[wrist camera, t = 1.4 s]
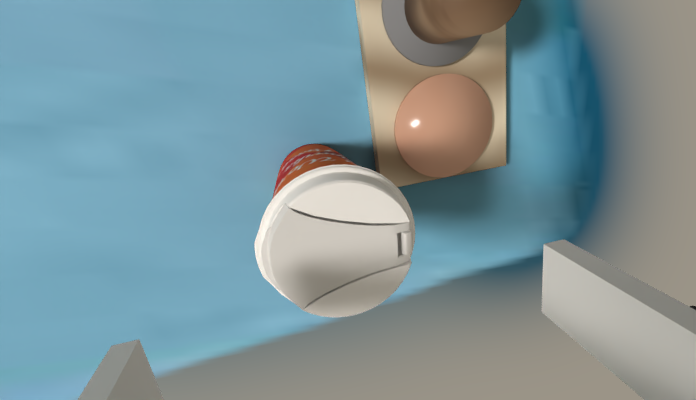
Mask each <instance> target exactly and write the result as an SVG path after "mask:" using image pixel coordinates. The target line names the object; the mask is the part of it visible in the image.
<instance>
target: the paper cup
mask: <svg viewBox="0 0 696 400" xmlns="http://www.w3.org/2000/svg"><path fill="white" fill-rule="evenodd" d="M414 242H415V225H414V218H413V215H412V211H411V208H410V206H409V204H408V202H407V200H406V198H405V197H404V195H403V194H402V192H401V191H400V190H399V189H398V188H397V187H396V186H395V185H394V184H393V183H392V182H391V181H390V180H388V179H387V178H386V177H384V176H383V175H381V174H379V173H377V172H375V171H373V170H371V169H368V168H364V167H361V166H358V165H356V164H355V163H353V162H352V161H350V160H349V159H347V158H346V157H345V156H343V155H342V154H340V153H339V152H337V151H335V150H334V149H332V148H330V147H327V146H324V145H320V144H308V145H304V146H301V147H299V148H297V149H295V150H293V151H292V152H291V153H290V154H289V155H288V156H287V157H286V158H285V160H284V161H283V163H282V165H281V167H280V170H279V173H278V177H277V181H276V186H275V190H274V195H273V199H272V201H271V202H270V204H269V205H268V207H267V209H266V211H265V213H264V215H263V217H262V220H261V224H260V228H259V231H258V234H257V237H256V240H255V255H256V259H257V263H258V266H259V269H260V271H261V273H262V275H263V277H264V278H265V279H266V280H267V281H268V282H269V283H271V284H272V285H273V286H274V287H275V288H276V289H277V290H278V291H279V292H280V293H281V294H282V295H283V296H285V297H286V298H287V299H289V300H290V301H292V302H293V303H295V304H296V305H297V306H299V307H300V308H301V309H302V310H304V311H306V312H309V313H312V314H315V315H318V316H324V317H346V316H352V315H356V314H360V313H362V312H365V311H367V310H370V309H372V308H374V307H375V306H377V305H379V304H380V303H382V302H383V301H384V300H386V299H387V298H388V297H389V296H390V295H392V294H393V293H394V292H395V291H396V289H397V288H398V287H399V286H400V284H401V283H402V282H403V280H404V278H405V276H406V275H407V273H408V271H409V268H410V265H411V259H410V257H411V255H412V251H413V247H414Z"/></svg>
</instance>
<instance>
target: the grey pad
mask: <svg viewBox="0 0 696 400" xmlns="http://www.w3.org/2000/svg"><path fill="white" fill-rule="evenodd" d="M404 3H405V0H382V4H381V9H382V19H383V24H384V27H385V31H386V33H387V35H388V38H389V39H390V41H391V43H392V44H393V46H394V47H395V48H396V50H397V51H398V52H399V53H400V54H401V55H403V56H404V57H405V58H406V59H408V60H410V61H412V62H414V63H416V64H419V65H423V66H442V65H446V64H450V63H452V62H455V61H457V60H459V59H460V58H462V57H463V56H465V55H466V54H467V53H468V52H469V51H470V50H471V49H472V48H473V47H474V46H475V45H476V43H477V42H478V41H479V39H480V37H481V36H482V34H481V35H477V36H472V37H468V38H464V39H459V40H455V41H451V42H446V43H442V44H431V43H427V42H425V41H423V40H421V39H419V38H418V37H417V36H416V35H415V34H414V33H413V32H412V30H411V29H410V27H409V25H408V23H407V20H406V16H405V10H404Z"/></svg>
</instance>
